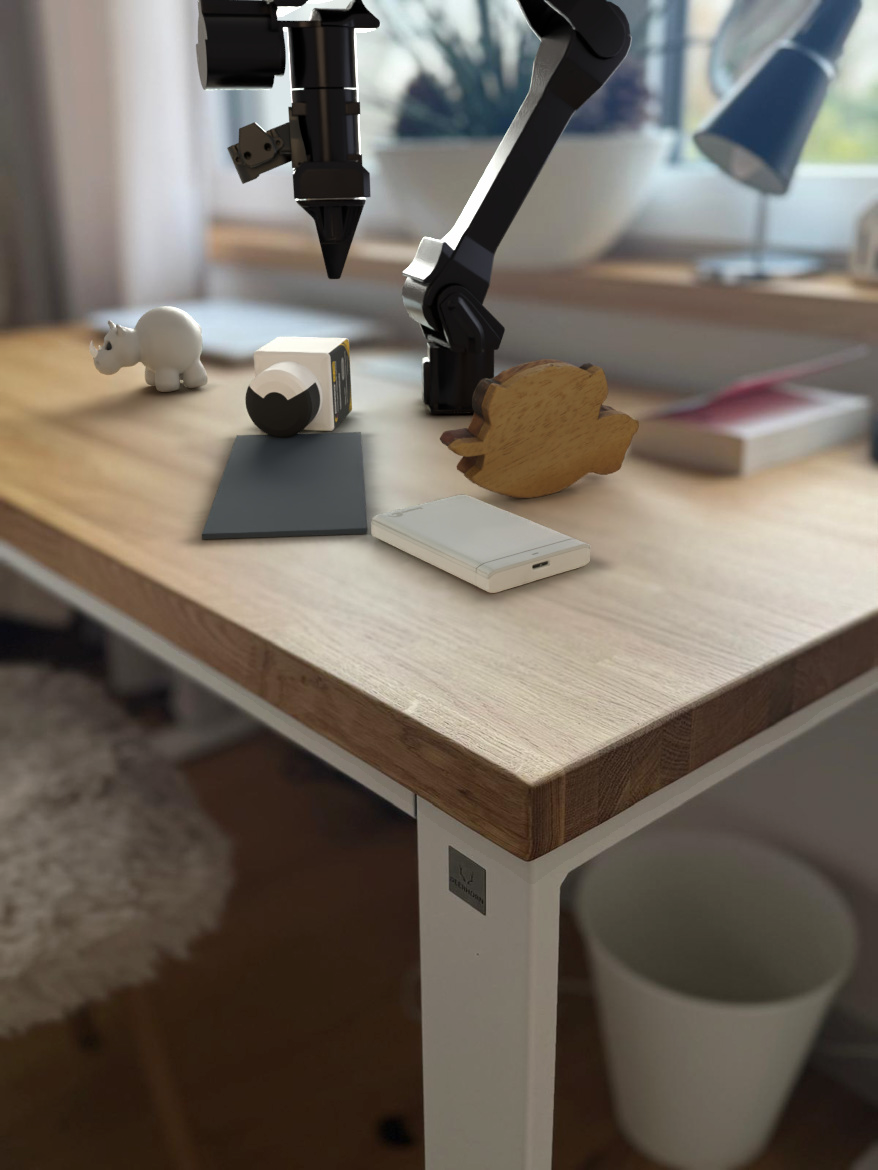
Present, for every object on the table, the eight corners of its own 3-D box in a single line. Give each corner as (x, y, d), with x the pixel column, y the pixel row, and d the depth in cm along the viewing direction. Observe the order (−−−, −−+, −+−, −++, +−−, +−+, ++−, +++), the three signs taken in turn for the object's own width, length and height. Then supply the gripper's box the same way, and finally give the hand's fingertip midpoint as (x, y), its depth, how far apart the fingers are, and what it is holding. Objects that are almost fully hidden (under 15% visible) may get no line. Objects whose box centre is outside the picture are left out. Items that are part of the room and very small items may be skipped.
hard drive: (370, 515, 71) (488, 569, 62) (467, 492, 76) (591, 539, 67) (371, 539, 72) (488, 596, 63) (467, 514, 77) (590, 564, 67)
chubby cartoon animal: (86, 390, 115) (75, 309, 112) (194, 377, 121) (186, 300, 118) (104, 403, 110) (93, 317, 106) (216, 389, 115) (209, 307, 112)
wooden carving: (600, 467, 87) (607, 342, 83) (640, 480, 84) (648, 351, 80) (429, 503, 79) (428, 366, 75) (465, 520, 75) (465, 377, 71)
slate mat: (360, 436, 97) (360, 431, 97) (367, 533, 73) (367, 528, 73) (236, 439, 96) (236, 435, 96) (202, 539, 72) (201, 533, 72)
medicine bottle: (353, 411, 105) (318, 448, 94) (282, 408, 106) (240, 444, 95) (349, 337, 102) (313, 366, 91) (277, 335, 103) (232, 363, 92)
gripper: (235, 95, 100) (249, 269, 106) (221, 86, 83) (239, 295, 89) (355, 93, 101) (362, 266, 107) (366, 84, 84) (374, 291, 90)
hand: (334, 278), depth 98 cm, fingers closed
